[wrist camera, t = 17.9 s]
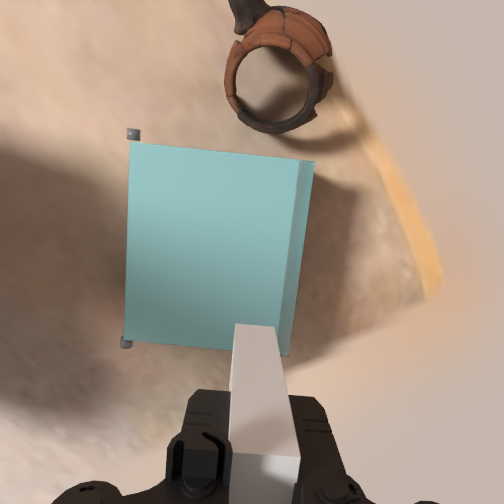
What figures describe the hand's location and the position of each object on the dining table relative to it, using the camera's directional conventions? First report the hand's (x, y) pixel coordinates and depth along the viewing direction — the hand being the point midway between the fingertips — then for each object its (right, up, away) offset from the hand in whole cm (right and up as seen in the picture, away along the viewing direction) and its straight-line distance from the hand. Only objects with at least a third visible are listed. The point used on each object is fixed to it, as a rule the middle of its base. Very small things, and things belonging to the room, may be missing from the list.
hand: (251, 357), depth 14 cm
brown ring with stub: (+2, +21, +19) cm, 28 cm away
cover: (-3, +4, +17) cm, 18 cm away
